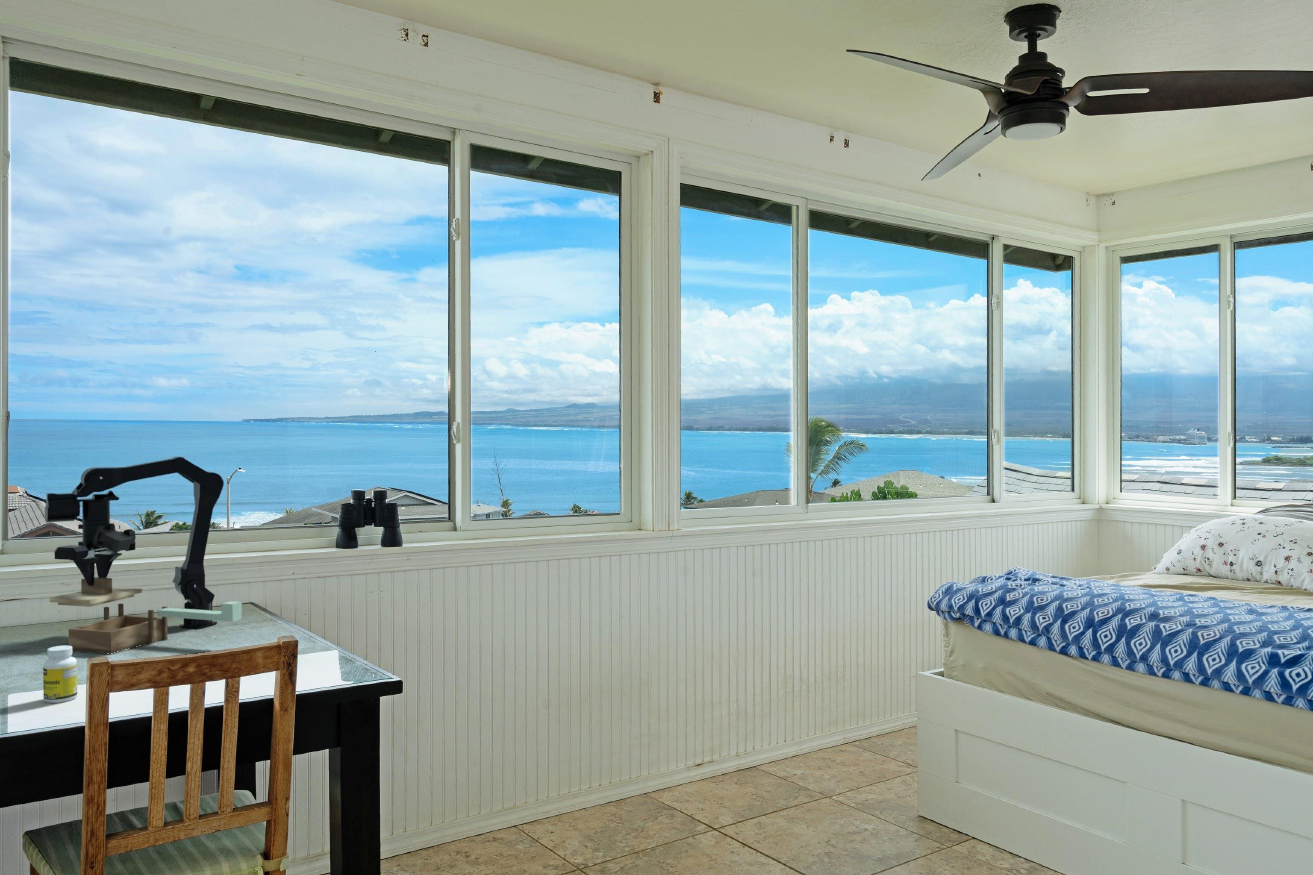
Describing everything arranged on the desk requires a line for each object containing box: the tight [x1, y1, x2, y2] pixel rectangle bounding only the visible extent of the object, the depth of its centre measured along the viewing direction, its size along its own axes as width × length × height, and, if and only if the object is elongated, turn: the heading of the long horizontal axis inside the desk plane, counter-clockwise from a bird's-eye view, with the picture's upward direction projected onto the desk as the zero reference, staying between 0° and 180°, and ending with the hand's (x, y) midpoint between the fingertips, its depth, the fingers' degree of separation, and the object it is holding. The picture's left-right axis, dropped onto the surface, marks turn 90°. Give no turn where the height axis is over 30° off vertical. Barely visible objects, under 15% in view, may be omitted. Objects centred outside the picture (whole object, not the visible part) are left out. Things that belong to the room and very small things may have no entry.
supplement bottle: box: [42, 645, 78, 704], centre depth 178 cm, size 5×5×10 cm
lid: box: [49, 576, 143, 608], centre depth 227 cm, size 16×11×5 cm
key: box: [157, 600, 243, 623], centre depth 221 cm, size 3×21×4 cm, turn 74°
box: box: [68, 603, 169, 655], centre depth 221 cm, size 16×14×8 cm
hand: (96, 584), depth 227 cm, fingers closed on lid, 3 cm apart
